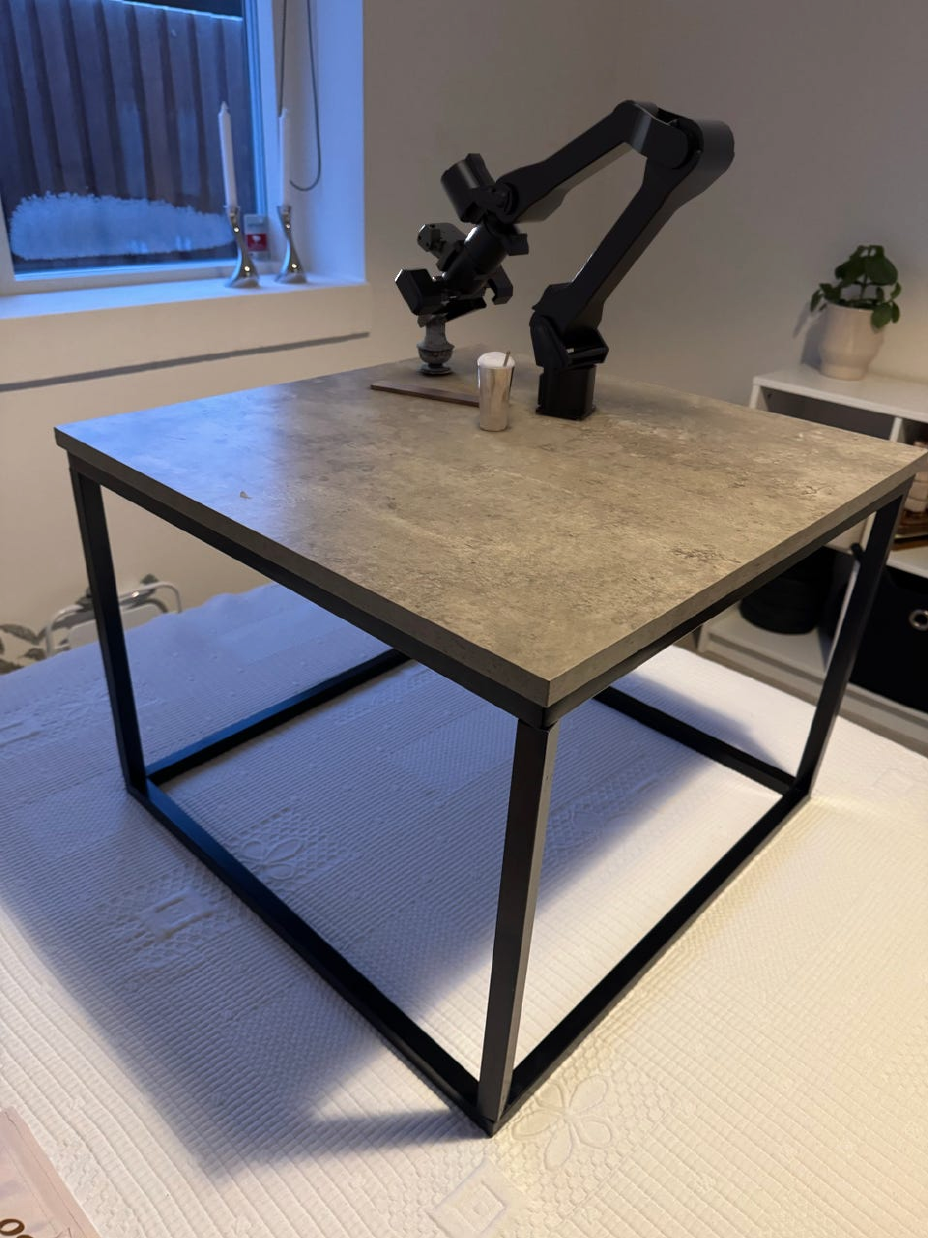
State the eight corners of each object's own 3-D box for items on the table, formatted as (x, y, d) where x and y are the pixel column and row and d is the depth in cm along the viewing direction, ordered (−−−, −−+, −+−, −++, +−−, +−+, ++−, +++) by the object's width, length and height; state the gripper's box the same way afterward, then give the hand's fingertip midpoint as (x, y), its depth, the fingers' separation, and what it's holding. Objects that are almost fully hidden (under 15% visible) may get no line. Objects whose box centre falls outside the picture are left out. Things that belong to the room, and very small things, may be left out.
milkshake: (487, 436, 105) (491, 352, 100) (469, 423, 109) (472, 342, 104) (520, 432, 106) (525, 349, 101) (501, 420, 110) (505, 340, 105)
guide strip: (507, 404, 117) (507, 400, 117) (497, 410, 114) (498, 405, 114) (381, 383, 124) (381, 379, 124) (370, 388, 122) (370, 384, 122)
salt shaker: (410, 372, 129) (409, 287, 124) (423, 363, 134) (423, 282, 128) (447, 375, 128) (448, 290, 122) (459, 367, 133) (460, 285, 127)
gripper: (503, 200, 123) (450, 273, 135) (402, 203, 112) (355, 283, 124) (540, 265, 122) (483, 333, 134) (442, 275, 111) (390, 348, 123)
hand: (429, 323), depth 129 cm, fingers closed on salt shaker, 3 cm apart
